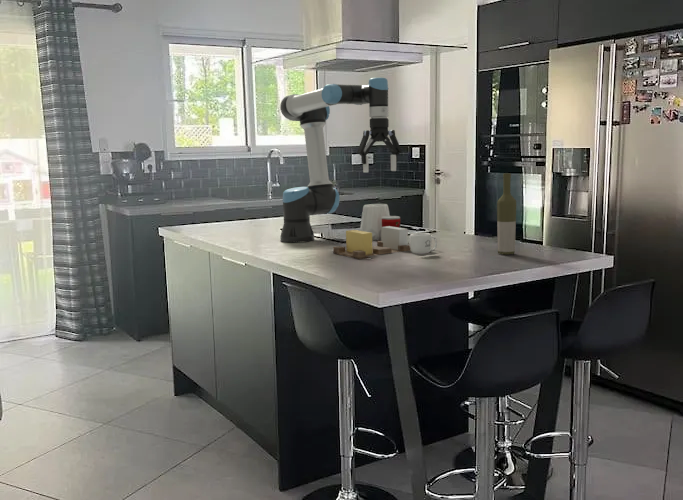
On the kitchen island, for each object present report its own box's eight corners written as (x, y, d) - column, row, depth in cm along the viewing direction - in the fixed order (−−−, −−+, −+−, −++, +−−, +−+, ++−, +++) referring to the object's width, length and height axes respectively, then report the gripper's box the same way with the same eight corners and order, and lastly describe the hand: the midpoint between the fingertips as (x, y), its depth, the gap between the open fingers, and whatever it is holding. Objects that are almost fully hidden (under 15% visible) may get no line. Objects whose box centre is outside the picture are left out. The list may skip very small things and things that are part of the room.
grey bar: (381, 246, 277) (381, 226, 276) (389, 245, 279) (389, 226, 278) (399, 250, 267) (399, 229, 266) (407, 249, 269) (407, 228, 268)
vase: (387, 241, 297) (386, 206, 295) (356, 240, 302) (355, 206, 300) (395, 236, 311) (395, 203, 308) (365, 236, 315) (364, 203, 313)
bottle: (519, 254, 255) (521, 173, 250) (505, 256, 252) (506, 174, 247) (506, 252, 261) (507, 172, 257) (492, 253, 258) (493, 173, 253)
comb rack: (333, 253, 269) (333, 246, 269) (383, 247, 282) (383, 240, 281) (358, 259, 254) (358, 252, 254) (410, 252, 267) (410, 245, 266)
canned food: (399, 243, 289) (399, 217, 287) (380, 243, 291) (380, 218, 289) (401, 241, 296) (401, 215, 295) (383, 241, 298) (382, 215, 296)
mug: (418, 256, 256) (417, 235, 255) (405, 254, 263) (404, 233, 262) (443, 253, 262) (443, 233, 261) (430, 250, 269) (430, 230, 268)
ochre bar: (372, 253, 261) (372, 232, 259) (363, 254, 259) (363, 233, 257) (355, 250, 271) (354, 229, 269) (346, 251, 269) (345, 230, 267)
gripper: (358, 117, 263) (359, 173, 267) (409, 117, 276) (410, 170, 280) (347, 118, 270) (348, 172, 273) (398, 118, 283) (399, 170, 286)
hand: (379, 171), depth 276 cm, fingers open, 13 cm apart
